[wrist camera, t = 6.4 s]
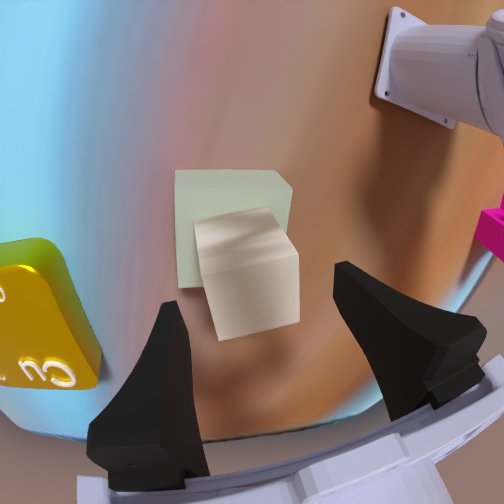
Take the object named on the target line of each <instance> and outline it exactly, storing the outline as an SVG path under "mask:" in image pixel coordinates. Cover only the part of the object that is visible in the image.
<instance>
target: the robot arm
mask: <svg viewBox="0 0 504 504" xmlns="http://www.w3.org/2000/svg"><path fill="white" fill-rule="evenodd" d="M400 13H401V14H402V17H401V15H400ZM386 91H387V96H385V92H386ZM374 93H375V95H376V96H377V97H378V98H381V99H383V100H386V101H389V102H391V103H394V104H396V105H399V106H401V107H403V108H406V109H408V110H410V111H413V112H415V113H417V114H420V115H422V116H424V117H426V118H428V119H431V120H433V121H435V122H437V123H439V124H441V125H443V126H445V127H447V128H449V129H454V127H455V125H456V121H460V122H463V123H466V124H469V125H471V126H474V127H477V128H479V129H482V130H484V131H487V132H489V133H492V134H494V135H497V136H499V137H500V138H501V140H502V142H503V146H504V8H503V9H500V10H497V11H495V12H494V13H493V14H492V15H491V17H490V19H489V20H488V21H487V23H486V27H483V26H466V25H428V24H426V23H425V22H423V21H421V20H420V19H418V18H416V17H415V16H413V15H411V14H410V13H408V12H406V11H404V10H402V9H401V8H399V7H392V8H391V9H390V14H389V20H388V25H387V31H386V36H385V42H384V47H383V52H382V57H381V62H380V67H379V71H378V76H377V80H376V85H375V89H374ZM444 119H445V121H444ZM333 299H334V301H335V303H336V306H337V308H338V310H339V312H340V314H341V316H342V318H343V319H344V321H345V323H346V324H347V326H348V327H349V329H350V331H351V332H352V334H353V335H354V337H355V339H356V340H357V342H358V343H359V345H360V347H361V348H362V350H363V352H364V354H365V355H366V357H367V359H368V362H369V364H370V366H371V368H372V370H373V373H374V375H375V378H376V380H377V382H378V385H379V387H380V390H381V393H382V396H383V398H384V401H385V404H386V407H387V410H388V413H389V417H390V420H391V423H389V424H387V425H384V426H382V427H380V428H377V429H375V430H373V431H370V432H368V433H366V434H363V435H361V436H358V437H356V438H353V439H351V440H348V441H345V442H342V443H340V444H337V445H334V446H331V447H328V448H326V449H323V450H319V451H316V452H313V453H310V454H307V455H303V456H300V457H296V458H293V459H289V460H285V461H282V462H278V463H274V464H270V465H266V466H261V467H257V468H253V469H248V470H242V471H237V472H232V473H226V474H220V475H214V476H210V473H209V469H208V466H207V462H206V458H205V454H204V450H203V446H202V441H201V437H200V432H199V427H198V422H197V417H196V411H195V406H194V398H193V384H192V362H191V348H190V342H189V335H188V331H187V328H186V326H185V323H184V320H183V318H182V315H181V312H180V310H179V307H178V304H177V302H176V300H175V301H170V302H165V303H162V305H161V307H160V310H159V313H158V316H157V319H156V321H155V324H154V327H153V329H152V331H151V334H150V336H149V339H148V341H147V343H146V345H145V347H144V350H143V352H142V354H141V356H140V358H139V360H138V362H137V363H136V365H135V367H134V369H133V370H132V372H131V374H130V375H129V377H128V378H127V380H126V381H125V383H124V385H123V386H122V387H121V389H120V390H119V392H118V393H117V394H116V395H115V397H114V398H113V399H112V400H111V402H110V403H109V404H108V405H107V406H106V408H105V409H104V410H103V411H102V412H101V413H100V414H99V415H98V416H97V417H96V418H95V419H94V420H93V421H92V422H91V423H90V424H89V429H88V434H87V452H86V454H87V456H88V458H89V459H90V460H91V461H93V462H94V463H95V464H97V465H99V466H100V467H102V468H103V469H105V470H107V471H108V478H105V477H100V476H82V475H79V476H77V504H454V503H453V501H452V499H451V497H450V495H449V493H448V491H447V489H446V487H445V485H444V483H443V481H442V479H441V477H440V475H439V473H438V471H437V469H436V467H435V465H434V464H435V463H437V462H438V461H440V460H442V459H443V458H445V457H446V456H447V455H449V454H451V453H452V452H453V451H455V450H456V449H458V448H459V447H461V446H462V445H463V444H465V443H466V442H468V441H469V440H470V439H472V438H473V437H474V436H476V435H477V434H478V433H480V432H481V431H482V430H483V429H485V428H486V427H487V426H489V425H490V424H491V423H492V422H494V421H495V420H496V419H497V418H499V417H500V416H501V415H502V414H503V413H504V359H503V357H502V356H501V355H500V354H497V355H496V356H494V357H493V358H492V359H490V360H489V361H487V362H486V363H485V364H484V365H483V366H482V367H480V366H479V365H478V362H479V358H478V357H477V355H476V354H477V352H478V350H479V349H480V347H481V345H482V344H483V342H484V340H485V338H486V334H487V330H486V328H485V327H484V326H483V325H482V324H481V323H480V321H479V320H478V319H477V318H476V317H474V316H468V315H463V314H457V313H453V312H449V311H445V310H442V309H439V308H436V307H433V306H430V305H427V304H424V303H422V302H419V301H417V300H415V299H412V298H410V297H408V296H406V295H404V294H402V293H400V292H398V291H396V290H394V289H392V288H391V287H389V286H387V285H385V284H384V283H382V282H380V281H379V280H377V279H375V278H374V277H372V276H370V275H369V274H367V273H366V272H364V271H363V270H361V269H359V268H358V267H356V266H355V265H353V264H351V263H350V262H348V261H344V262H340V263H336V264H335V270H334V287H333Z"/></svg>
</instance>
